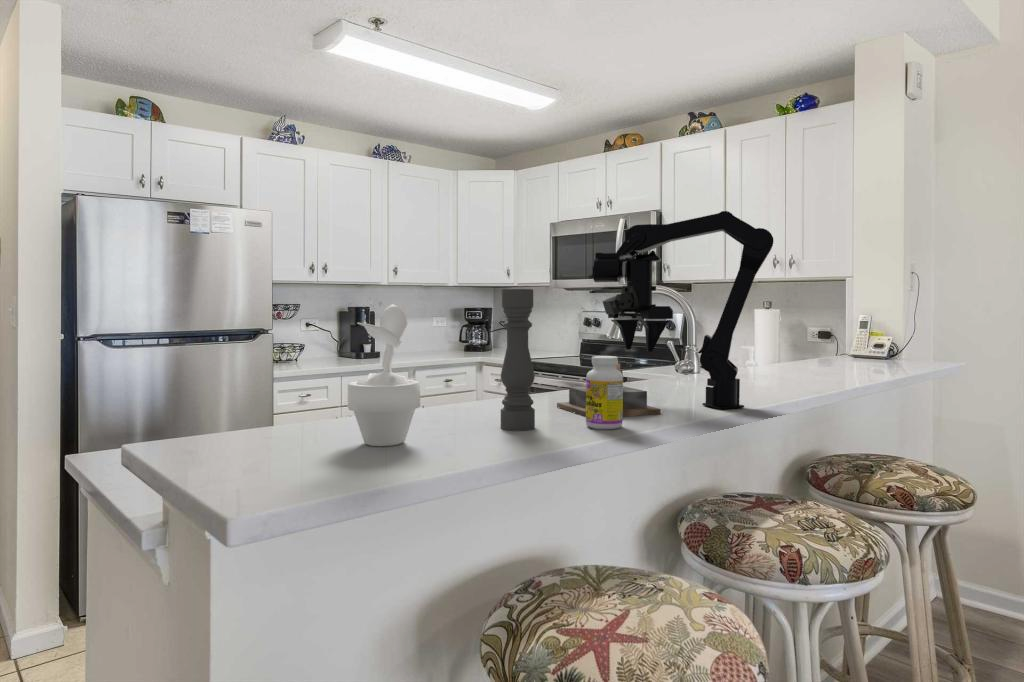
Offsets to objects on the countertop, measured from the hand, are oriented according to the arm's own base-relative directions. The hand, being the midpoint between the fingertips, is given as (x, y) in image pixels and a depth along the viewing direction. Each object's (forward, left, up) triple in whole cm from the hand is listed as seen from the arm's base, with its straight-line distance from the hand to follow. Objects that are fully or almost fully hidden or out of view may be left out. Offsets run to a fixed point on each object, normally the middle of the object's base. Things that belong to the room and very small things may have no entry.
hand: (638, 350), depth 149 cm
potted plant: (+62, +24, -12) cm, 68 cm away
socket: (+12, +7, -12) cm, 18 cm away
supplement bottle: (+22, +24, -12) cm, 35 cm away
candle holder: (+37, +19, -12) cm, 43 cm away
